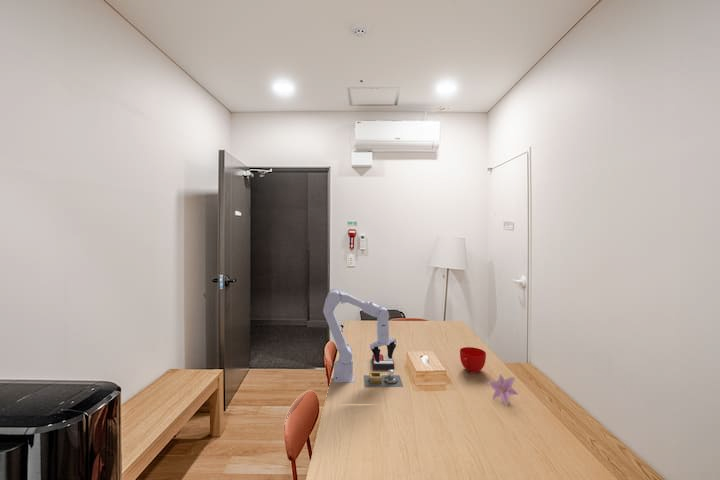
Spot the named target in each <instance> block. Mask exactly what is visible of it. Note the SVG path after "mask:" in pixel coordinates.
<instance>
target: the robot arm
mask: <svg viewBox="0 0 720 480" xmlns="http://www.w3.org/2000/svg"><path fill="white" fill-rule="evenodd" d="M339 303H340V304H346V303H348V304H350V305H352V306H356V307H358V308H360V309H361V310H362V312H363V313H364V314H367V315H369V316H372V317H375V318H377V321H376V322H377V323H376V333H377V336H376V337H377V339H376V341H374V342H372V343H370V344H369V348H370V350H371V352H372V353H373V354H374V357H375V360H376V362H378V363H379V356H380V354H381V349H380V347H383V346H386V348H387V349H386V350H387V354H388V358H390V359H392V358H393V353H394V351H395V349H396V347H397V344H396V343H397V338H394V337H392V338H390V326H389V324H390V322H389V319H390V313H389V311H388V309H387V308H386V307H385V306H382V305H378V304H376V303H374V301H372V300H370V301H369V300H367V301H363V300H361V299H359V298H357V297H356V296H353V295H351V294H349V293H347V292H345V291H343V290H339V289H337V288H332V289H331V290H330V291H328V293H327V295H326V298H325V301H324V304H323V310H322V313H323V315H324V317H325V320H326V323H327V325H328V327H329V330H330V332H331V334H332V336H333V339H334V342H335V344H336V349H337V351H338V353H339V354H338V355H339V357H338V359H337V360H335V361H334V362H333V373H332V375H333V383H354V381H355V380H354V379H355V377H354V373H353V372H354V359H353V349H352V347H351V345H349V343H348V341H347V340H346V338H345V335H344V334H343V331H342V329H341V328H342V327H341V326H340V323H339V321H338V318H337V316H336V314H335V309H336V307H337V306H338V305H339ZM373 354H372V355H373Z"/></svg>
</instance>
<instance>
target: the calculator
mask: <svg viewBox="0 0 720 480" xmlns="http://www.w3.org/2000/svg"><path fill="white" fill-rule="evenodd" d="M371 357H372V360H371V361H372V369H373V370H374V371H375V370H376V371H378V370H379V371H383V370H384V371H387V370H390V369H392V370H394V371H395V362H394V359H393V357H392V359H390V358H388V353H383V354H382V353H380V356H379V363H378V362H376V360H375V357H374V354H372V355H371Z"/></svg>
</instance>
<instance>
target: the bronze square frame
mask: <svg viewBox="0 0 720 480" xmlns="http://www.w3.org/2000/svg"><path fill="white" fill-rule="evenodd" d="M368 375H369V379H370V384H382V375H383V374H382V372H381V371H377V372H376V371H373V372H371V371H370V372H369V374H368Z"/></svg>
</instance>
